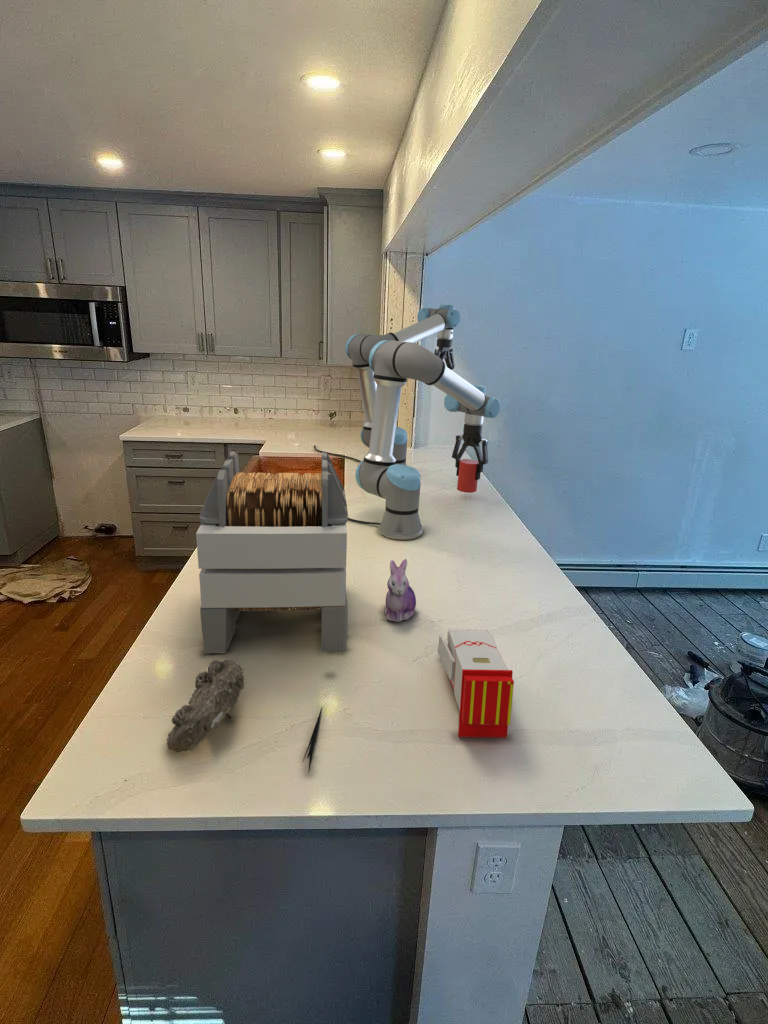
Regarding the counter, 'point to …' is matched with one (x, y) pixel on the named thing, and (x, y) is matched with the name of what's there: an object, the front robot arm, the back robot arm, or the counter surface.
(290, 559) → the record crate
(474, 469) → the can
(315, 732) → the feather
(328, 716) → the counter surface
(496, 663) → the toy
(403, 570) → the figurine
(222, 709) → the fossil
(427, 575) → the counter surface
